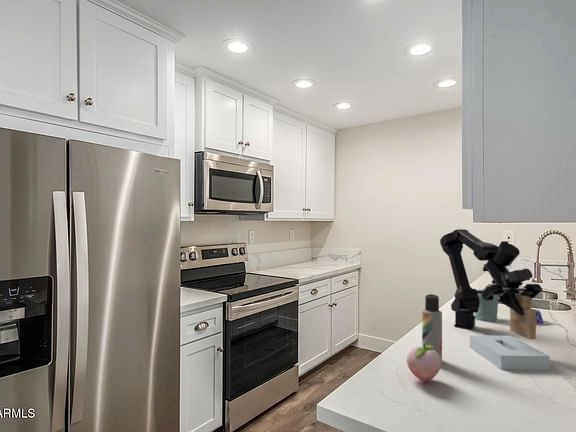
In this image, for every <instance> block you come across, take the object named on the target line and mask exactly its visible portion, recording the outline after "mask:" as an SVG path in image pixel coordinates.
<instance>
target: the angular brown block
mask: <svg viewBox="0 0 576 432" xmlns="http://www.w3.org/2000/svg"><path fill="white" fill-rule="evenodd" d="M515 298H516V300H517V301H518V303H519V305H520V307H521V308H522V310H523V312H524V315H523V316H521V315H520V314H518V313H517V312H515V311H514V310H512V309H511V308H510V309H509V311H510V315H509V318H510V319H509V321H510V322H509V327H510V328H509V329H510V330H509V331H510V332H511V333H513V334H516V335H519V336H522V337H523V338H526V339H528V340H536V339H537V324H536V310H537V309H536V310H534V309H535V308H532V307H531V305H532V304H531V301H532V299H531V297H527V296H524V295H515Z"/></svg>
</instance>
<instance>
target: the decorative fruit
mask: <svg viewBox="0 0 576 432" xmlns="http://www.w3.org/2000/svg"><path fill="white" fill-rule="evenodd" d="M433 349H435V348H434V347H433V346H431V345H425V344H424V346H423V347H422V346H416V347H413V348H412V349H411V350H410V351H409V352H408V353H407V356H406V364H407V367H408V369H409V371H410V372H411V373H412V375H413V376H414V377H416V379H419V380H420V381H423V382H425V383H426V382H429V381H431V380H433V379H434V378H435V377H436V376H437V375H438V373H439V372H440V370H441V367H442V362H441V358H440V356H439V354H438V353H437V352H436V351H435V350H433Z"/></svg>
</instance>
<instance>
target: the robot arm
mask: <svg viewBox="0 0 576 432" xmlns="http://www.w3.org/2000/svg"><path fill="white" fill-rule="evenodd" d="M439 243H440V246H441V249H442V251H443V252H444V253H445V254H446V255H447V256H448V259H449V263H450V266H451V271H452V275H453V279H454V281H455V286H456V290H455V293H454V300H453V301H452V303H451V304H450V308H451V311H453V312H454V315H455V318H454V319H455V322H454V323H455V324H454V325H453V327H456V328H462V329H466V330H473V329H474V327H476V319H475V313H474V312H476V313H477V312H478V309H479V305H480V301H479V297H478V294H477V290H478V289H476V288H472V287H471V285H470V282H469V278H468V274H467V271H466V268H465V264H464V261H463V257H462V251H463V248H464V245H465V246H466V247H468V248H469V249H471V250H472V251H473V255H474V257H475V258H476V260H479V261H484V262H485V261H486V263H484V264H483V267H482V272H488V274H490V276H491V278H492V281H491V283H492V284H488V285H487V286H486V287H485V288H484V289H483V290H484V291H483V292H482V297H483V298H484V300H485V301H491V300H493V298H494V297H493V295H498V296H499V298H498V303H501V304H503V305H504V306H507V308H511V309H512V310H514V311H515V312H517V313H518V314H520V315H521V316H523V315H524V312H523V310H522V308H521V307H520V305H519V303H518V301H517V300H516V298H515V295H524V296H527V297H531V300H533V299H535V298H536V297H537V296H538V295H539V294H541V293H542V292H543V291H544V289H543V287H542V286H541V285H540V284H539V283H526V284H525V285H524V287H521V286H522V285H523V284H524V283H523V282H527V281H530V280H531V279H532V278H533V276H534V275H533V273H532V271H531V269H529V268H523V269H517V270H512V271H510V270H509V268H507V267H510V266H511V265H512V264H513V262H514V261H515V260H516V259H517V258H518V256H520V249H519V247H516V246H515V245H513V244H512V243H509V242H508V240H507V241H506V240H505V241H504V240H502V241H501V242H500V244H499V245H497V244H494V243H490V242H485V241H483V240H481V239H479V238H478V237H477V236H475V235H473V234H472V233H470V232H469V230H468V229H466V228H465V229H463V228H462V229H461V228H460V229H459V228H458V229H454V230H453V231H452V232H449V233H446V234H444V235H443V236H442V237H441V238H440V239H439Z"/></svg>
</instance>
